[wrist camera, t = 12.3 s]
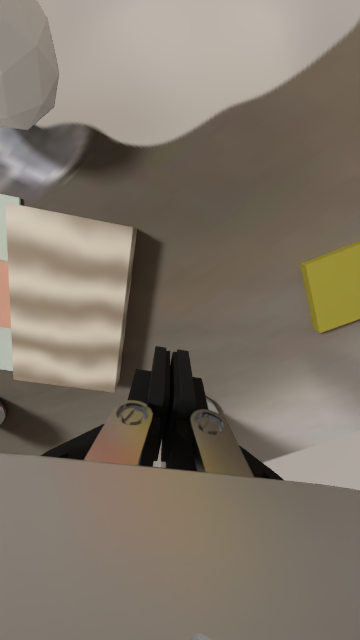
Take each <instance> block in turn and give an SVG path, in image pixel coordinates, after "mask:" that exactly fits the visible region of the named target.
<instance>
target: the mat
mask: <svg viewBox="0 0 360 640" xmlns="http://www.w3.org/2000/svg"><path fill="white" fill-rule="evenodd" d="M5 202H6V203H11V204H16V205H21V198H17V197H12V196H7V195H2V194H0V260H6V261H8V251H7V229H6V208H5ZM0 369H2V370H10V371H13V358H12V337H11V328H4V327H0Z"/></svg>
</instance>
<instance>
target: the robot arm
mask: <svg viewBox="0 0 360 640" xmlns="http://www.w3.org/2000/svg"><path fill="white" fill-rule="evenodd" d="M161 440H162V448H161V468H160V467H153V462H154V461H157V459H158V455H159V450H160V445H161ZM0 640H360V491H359V490H354V489H349V488H341V487H335V486H327V485H321V484H311V483H303V482H294V481H284V480H283V479H282V478H281V477H280V476H279V475H278V474H276V473H275V472H274V471H272V470H271V469H270V468H268V467H267V466H266V465H264V464H263V463H262V462H260V461H259V460H258V459H256V458H255V457H254V456H253V455H251V454H250V453H249V452H247V451H246V450H245V449H243V448H242V447H241V446H239V445H238V443H237V441H236V439H235V437H234V435H233V433H232V431H231V429H230V427H229V425H228V423H227V422H226V420H225V419H224V418H223V417H222V416H221V415H220V414H219V412H218V410H217V407H216V406H215V404H214V403H213V402H212V401H211V400H210V399H208V398H206V396H205V392H204V387H203V383H202V379H201V378H196V377H192V371H191V365H190V358H189V352H188V351H184V350H177V352H173V354H172V359H171V364H170V351H166V348H164V347H157V346H156V347H155V353H154V359H153V365H152V371H146V370H138V369H136V371H135V375H134V378H133V382H132V386H131V390H130V393H129V397H128V401H124V402H121V403H119V404H117V405H116V406H115V407H114V409H113V410H112V412H111V414H110V415H109V417H108V419H107V421H106V422H105V424H103V425H101V426H99V427H96V428H94V429H92V430H90V431H88V432H86V433H84V434H82V435H80V436H78V437H76V438H74V439H72V440H70V441H68V442H66V443H64V444H62V445H60V446H57V447H55V448H53V449H51V450H49V451H47V452H46V453H44V454H43V455H41V456H35V455H19V454H3V453H0Z"/></svg>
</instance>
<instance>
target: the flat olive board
mask: <svg viewBox="0 0 360 640" xmlns="http://www.w3.org/2000/svg"><path fill="white" fill-rule="evenodd" d="M300 266H301V270H302V275H303V280H304V285H305V289H306V294H307V299H308V303H309V308H310V313H311V318H312V322H313V327H314V330H315V331H317V332H318V333H322V332H325V331H328V330H330V329H333V328H336V327H339V326H342V325H344V324H347V323H350V322H353V321H356V320H358V319H360V241H358V242H356V243H353V244H351V245H348V246H345V247H343V248H340V249H338V250H335V251H332V252H330V253H327V254H325V255H322V256H319V257H317V258H314V259H312V260H309V261H306V262H304V263H301V264H300Z"/></svg>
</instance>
